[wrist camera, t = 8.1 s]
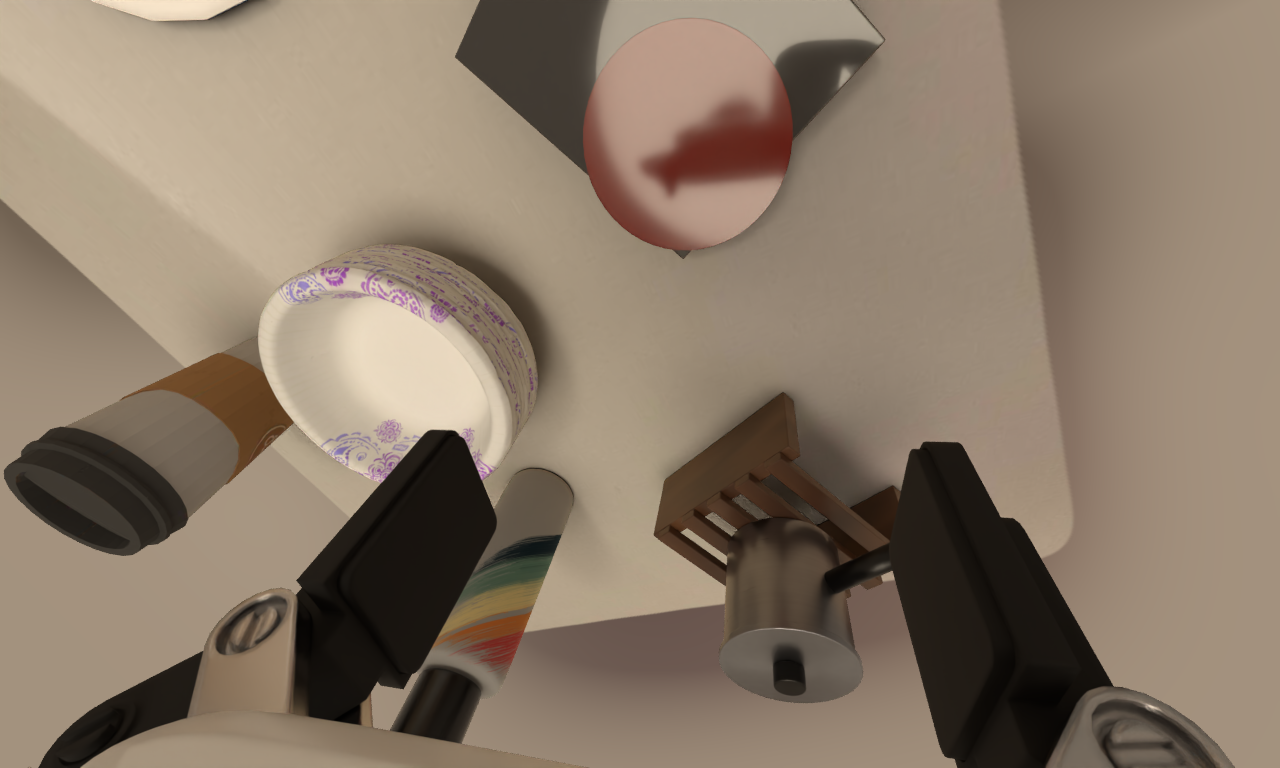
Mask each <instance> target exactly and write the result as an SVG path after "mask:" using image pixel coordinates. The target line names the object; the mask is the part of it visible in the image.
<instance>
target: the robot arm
mask: <svg viewBox="0 0 1280 768" xmlns="http://www.w3.org/2000/svg"><path fill="white" fill-rule="evenodd" d="M496 527H497V517H496V514H495V512H494V509H493V507H492V504H491V502H490V499H489V497H488V495H487V492H486V490H485V487H484V485H483V482H482V480H481V477H480V475H479V472H478V470H477V467H476V465H475V463H474V460H473V458H472V455H471V453H470V450H469V448H468V445H467V443H466V441H465V439H464V438H463V437H460V436H459V434H458V433H457V432H456V431H454V430H429V431H427V432H426V433H425V434H424V435H423V436H422V437H421V438H420V439H419V440H418V442H417V443H416V444H415V445H414V446H413V447H412V448H411V450H410V451H409V452H408V453H407V454H406V455H405V456H404V458H403V459H402V460H401V461H400V462H399V463H398V465H397V466H396V467H395V468H394V469H393V470H392V471H391V473H390V474H389V475H388V476H387V477H386V478H385V479H384V481H383V482H382V483H381V484H380V485H379V486H378V487H377V489H376V490H375V491H374V492H373V493H372V494H371V495H370V497H369V498H368V499H367V500H366V501H365V502H364V503H363V505H362V506H361V507H360V508H359V509H358V510H357V512H356V513H355V514H354V515H353V516H352V517H351V518H350V520H349V521H348V522H347V523H346V524H345V525H344V527H343V528H342V529H341V530H340V531H339V532H338V533H337V535H336V536H335V537H334V538H333V539H332V540H331V541H330V543H329V544H328V545H327V546H326V547H325V548H324V549H323V551H322V552H321V553H320V554H319V555H318V556H317V557H316V559H315V560H314V561H313V562H312V563H311V564H310V565H309V567H308V568H307V569H306V570H305V571H304V572H303V574H302V575H301V576H300V577H299V578H298V579H297V580H296V581H297V582H298V583H299V584H300V586H301V587H302V588H301V590H300V591H299V592H298V593H297V594H296V595H295V594H294V593H293V592H292V591H291V590H289V589H285V588H276V589H269V590H266V591H263V592H260V593H257V594H255V595H254V596H252V597H250V598H248V599H246V600H244V601H243V602H241V603H240V604H239V605H237V606H236V607H234V608H233V609H232V610H230V611H229V612H228V613H227V614H226V615H225V616H224V617H223V618H222V619H221V620H220V621H219V622H218V623H217V625H216V626H215V627H214V629H213V630H212V631H211V633H210V635H209V637H208V639H207V641H206V644H205V646H204V651H202V652H200V653H198V654H196V655H194V656H192V657H190V658H188V659H186V660H184V661H182V662H180V663H178V664H176V665H174V666H173V667H171V668H169V669H167V670H165V671H163V672H161V673H159V674H157V675H155V676H153V677H151V678H149V679H147V680H146V681H143V682H141V683H139V684H138V685H136V686H134V687H132V688H130V689H128V690H126V691H124V692H122V693H120V694H118V695H116V696H114V697H112V698H110V699H108V700H106V701H105V702H103V703H102V704H100V705H98V706H97V707H95V708H93V709H92V710H90V711H89V712H87V713H86V714H85V715H84V716H82V717H81V718H80V719H79V720H77V721H76V722H75V723H73V724H72V725H71V726H70V727H69V728H68V729H67V730H66V731H65V732H64V733H63V734H62V735H61V736H60V737H59V738H58V739H57V740H56V742H55V743H54V744H53V745H52V747H51V748H50V749H49V751H48V752H47V753H46V755H45V756H44V758H43V760H42V762H41V764H40V766H39V768H587V767H581V766H576V765H571V764H566V763H560V762H555V761H550V760H545V759H539V758H534V757H528V756H524V755H518V754H513V753H508V752H502V751H497V750H492V749H486V748H481V747H475V746H470V745H465V744H459V743H454V742H448V741H443V740H438V739H432V738H427V737H421V736H416V735H410V734H405V733H399V732H394V731H388V730H383V729H378V728H373V720H372V704H371V691H372V690H373V688H374V686H375V685H376V683H377V681H378V683H379V684H380V685H381V686H387V687H393V688H400V689H404V687H405V686H406V684H407V682H408V680H409V678H410V677H411V675H412V674H414V673H416V672H417V671H418V670H419V669H420V668H421V666H422V665H423V663H424V661H425V659H426V658H427V656H428V654H429V652H430V650H431V648H432V647H433V645H434V643H435V641H436V639H437V637H438V636H439V634H440V632H441V630H442V628H443V626H444V625H445V623H446V621H447V619H448V617H449V615H450V614H451V612H452V610H453V608H454V606H455V604H456V603H457V601H458V599H459V597H460V595H461V593H462V591H463V590H464V588H465V586H466V584H467V582H468V580H469V579H470V577H471V575H472V573H473V571H474V569H475V568H476V566H477V564H478V562H479V560H480V558H481V557H482V555H483V553H484V551H485V549H486V547H487V546H488V544H489V542H490V540H491V538H492V536H493V535H494V533H495V530H496ZM889 556H890V562H891V566H892V570H893V574H894V577H895V581H896V585H897V589H898V592H899V596H900V600H901V603H902V607H903V611H904V615H905V619H906V622H907V626H908V630H909V633H910V637H911V641H912V645H913V648H914V652H915V655H916V660H917V663H918V667H919V671H920V674H921V678H922V682H923V686H924V689H925V693H926V697H927V701H928V704H929V708H930V712H931V715H932V719H933V723H934V727H935V731H936V734H937V738H938V742H939V745H940V748H941V750H942V752H943V754H944V756H945V757H947V758H953V759H955V761H956V765H957V768H1235V767H1234V766H1233V765H1232V763H1231V762H1230V760H1229V759H1228V758H1227V756H1226V755H1225V754H1224V752H1223V751H1222V750H1221V748H1220V747H1219V746H1218V744H1217V743H1215V741H1213V740H1212V739H1211V738H1210V737H1209V736H1208V735H1207V734H1206V733H1205V732H1204V731H1203V730H1202V729H1201V728H1200V727H1198V726H1197V725H1196V724H1195V723H1194V722H1193V721H1191V720H1190V719H1188V718H1187V717H1185V716H1184V715H1182V714H1181V713H1179V712H1178V711H1177V710H1175V709H1174V708H1172V707H1171V706H1169V705H1167V704H1165V703H1163V702H1161V701H1159V700H1157V699H1155V698H1153V697H1151V696H1149V695H1147V694H1144V693H1141V692H1137V691H1134V690H1130V689H1127V688H1123V687H1114V686H1113V685H1112V683H1111V681H1110V679H1109V677H1108V676H1107V674H1106V672H1105V671H1104V669H1103V667H1102V665H1101V663H1100V662H1099V660H1098V658H1097V656H1096V655H1095V653H1094V651H1093V649H1092V648H1091V646H1090V644H1089V642H1088V640H1087V639H1086V637H1085V635H1084V634H1083V632H1082V630H1081V628H1080V626H1079V625H1078V623H1077V621H1076V620H1075V618H1074V616H1073V614H1072V612H1071V611H1070V609H1069V607H1068V605H1067V604H1066V602H1065V600H1064V598H1063V597H1062V595H1061V593H1060V591H1059V590H1058V588H1057V586H1056V584H1055V582H1054V581H1053V579H1052V577H1051V575H1050V574H1049V572H1048V570H1047V568H1046V567H1045V565H1044V563H1043V562H1042V560H1041V558H1040V556H1039V554H1038V553H1037V551H1036V549H1035V547H1034V546H1033V544H1032V542H1031V540H1030V539H1029V537H1028V535H1027V533H1026V531H1025V530H1024V529H1023V527H1022V526H1021V524H1020V523H1019V522H1017V521H1016V520H1015V519H1013V518H1001V517H1000V515H999V513H998V511H997V509H996V507H995V506H994V504H993V502H992V500H991V498H990V496H989V494H988V492H987V490H986V489H985V487H984V485H983V483H982V481H981V479H980V477H979V475H978V474H977V472H976V470H975V468H974V466H973V464H972V462H971V460H970V459H969V457H968V455H967V453H966V451H965V449H964V448H963V446H962V445H961V444H960V443H958V442H923V444H922V445H921V448H920V449H912V450H911V451H910V454H909V458H908V462H907V467H906V471H905V476H904V480H903V485H902V489H901V494H900V498H899V503H898V507H897V512H896V516H895V521H894V525H893V530H892V534H891V539H890V544H889ZM29 768H31V767H29Z"/></svg>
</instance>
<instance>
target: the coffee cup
mask: <svg viewBox="0 0 1280 768" xmlns="http://www.w3.org/2000/svg"><path fill="white" fill-rule="evenodd" d="M293 423H294V421H293V420H292V419H291V418H290V416H289V415H288V414H287V413H286V411H285V410H284V408H283V407H282V406H281V404H280V403H279V401H278V399H277V398H276V396H275V394H274V392H273V390H272V388H271V386H270V384H269V382H268V380H267V378H266V375H265V372H264V369H263V366H262V362H261V358H260V353H259V347H258V338H253V339H250V340H247V341H245V342H243V343H241V344H239V345H237V346H235V347H232V348H230V349H228V350H226V351H224V352H222V353H217V354H215V355H213V356H210V357H208V358H206V359H204V360H202V361H200V362H198V363H195V364H193V365H191V366H189V367H187V368H185V369H183V370H181V371H178V372H176V373H174V374H172V375H170V376H168V377H166V378H163V379H161V380H159V381H157V382H155V383H153V384H151V385H149V386H147V387H145V388H142V389H140V390H138V391H136V392H134V393H132V394H129V395H127V396H125V397H123V398H122V399H121V400H120V401H119V402H116V403H114V404H112V405H110V406H108V407H106V408H104V409H101V410H99V411H97V412H95V413H93V414H91V415H89V416H87V417H85V418H82V419H80V420H78V421H76V422H74V423H72V424H70V425H68V426H66V427H58V428H54V429H50V430H49V431H48V432H47V433H46V434H45V435H43V436H42V437H41V438H40V439H39V440H37V441H33V442H31V443H29V444H28V445H26V447H25V448H24V449H23V450H22V451H21V457H20V458H18V459H17V460H15V461H14V462H12V463H11V464H9V465H8V466H7V467H6V468H5V470H4V479H5V480H6V483H7V485H8V487H9V488H10V490H11V491H12V492H13V493H14V495H15V496H16V497H17V498H18V500H20V502H22V503H23V504H24V505H25V506H26V507H27V508H28V509H29V510H30V511H31V512H32V513H34V514H35V515H36V516H38V517H39V518H40V519H41V520H43V521H44V522H45V523H47V524H48V525H50V526H51V527H53V528H55V529H56V530H58V531H59V532H61V533H62V534H64V535H66V536H68V537H70V538H72V539H74V540H76V541H77V542H79V543H82V544H84V545H86V546H89V547H91V548H93V549H96V550H99V551H102V552H106V553H109V554H115V555H121V556H126V555H133V554H135V553H137V552H138V551H140V550H141V549H143V548H144V547H146V546H147V545H154V544H159V543H160V542H162V541H164V540H165V539H167V538H168V537H169V536H170V534H172V533H173V532H175V531H177V530H179V529H181V528H183V527H184V526H185V525H186V523H187V520H188V518H189V517H190V516H191V515H192V514H193V513H195V512H196V511H197V510H198V509H199V508H200V507H201V506H202V505H203V504H204V503H205V502H206V501H208V500H209V499H210V498H211V497H212V496H213V495H214V494H215V493H216V492H217V491H218V490H219V489H220V488H222V487H223V486H224V485H225V484H228V483H229V482H230V481H231V480H232V479H233V478H235V477H236V475H238V474H239V473H240V472H241V471H242V470H243V469H244V468H245V467H246V466H248V465H249V464H250V463H251V462H252V461H253V460H254V459H255V458H256V457H257V456H258V455H259V454H260V453H261V452H263V451H264V450H265V449H266V448H267V447H268V446H269V445H270V444H271V443H272V442H273V441H274V440H275V439H277V438H278V437H279V436H280V435H281V434H282V433H283V432H284V431H285V430H286V429H287V428H288V427H289V426H291V425H292V424H293Z"/></svg>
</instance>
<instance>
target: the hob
mask: <svg viewBox="0 0 1280 768" xmlns="http://www.w3.org/2000/svg"><path fill="white" fill-rule="evenodd" d="M681 18H700V19H709V20H712V21H716V22H720V23H723V24H725V25H728V26H730V27H732V28H734V29H736V30H738V31H740V32H741V33H743V34H744V35H746V36H747V37H749V38H750V39H751V40H752V41H753V42H754V43H756V44H757V45H758V46H759V47H760V48H761V49H762V50H763V51H764V53H765V54H766V55H767V56H768V58H769V59H770V60H771V61H772V63H773V64H774V66H775V68H776V70H777V71H778V73H779V75H780V77H781V79H782V81H783V84H784V86H785V89H786V91H787V95H788V99H789V103H790V107H791V114H792V122H793V139H792V141H793V140H794V139H795V138H796V137H797V136H798V135H799V133H800V132H801V131H802V130H803V129H804V128H805V127H806V126H807V125H808V124H809V123H810V122H811V120H812V119H813V118H814V117H815V116H816V115H817V114H818V113H819V112H820V111H821V110H822V109H823V108H824V106H825V105H826V104H827V103H828V102H829V101H830V100H831V99H832V98H833V97H834V96H835V95H836V93H837V92H838V91H839V90H840V89H841V88H842V87H843V86H844V85H845V84H846V83H847V82H848V80H849V79H850V78H851V77H852V76H853V75H854V74H855V73H856V72H857V71H858V70H859V69H860V67H861V66H862V65H863V64H864V63H865V62H866V61H867V60H868V59H869V58H870V57H871V56H872V54H873V53H874V52H875V51H876V50H877V49H878V48H879V47H880V46H881V45H882V44H883V43H884V42H885V38H884V37H883V36H882V35H881V33H880V32H879V31H878V30H877V29H876V28H875V26H874V25H873V24H872V23H871V22H870V21H869V19H868V18H867V17H866V16H865V15H864V14H863V12H862V11H861V10H860V9H859V8H858V6H857V5H856V4H855V3H854V2H853V1H852V0H480V1H479V4H478V6H477V8H476V10H475V13H474V15H473V17H472V19H471V22H470V24H469V26H468V28H467V31H466V33H465V35H464V37H463V40H462V42H461V44H460V46H459V49H458V51H457V53H456V55H455V58H456V59H457V60H459V61H460V62H461V63H462V64H463V65H464V66H465V67H467V68H468V69H469V70H470V71H471V72H472V73H473V74H474V75H476V76H477V77H478V78H479V79H480V80H481V81H482V82H483V83H485V84H486V85H487V86H488V87H489V88H490V89H491V90H493V91H494V92H495V93H496V94H497V95H498V96H499V97H500V98H502V99H503V100H504V101H505V102H506V103H507V104H508V105H509V106H511V107H512V108H513V109H514V110H515V111H516V112H517V113H519V114H520V115H521V116H522V117H523V118H524V119H525V120H526V121H528V122H529V123H530V124H531V125H532V126H533V127H534V128H535V129H537V130H538V131H539V132H540V133H541V134H542V135H543V136H545V137H546V138H547V139H548V140H549V141H550V142H551V143H552V144H554V145H555V146H556V147H557V148H558V149H559V150H560V151H561V152H563V153H564V154H565V155H566V156H567V157H568V158H569V159H571V160H572V161H573V162H574V163H575V164H576V165H577V166H578V167H580V168H581V169H582V170H583V171H584V172H585V173H586V174H587V175H589V174H588V171H587V166H586V162H585V157H584V147H583V126H584V119H585V112H586V108H587V104H588V100H589V97H590V94H591V92H592V89H593V87H594V84H595V82H596V80H597V78H598V77H599V75H600V73H601V71H602V69H603V68H604V66H605V65H606V64H607V62H608V61H609V60H610V58H611V57H612V56H613V55H614V54H615V53H616V52H617V50H618V49H619V48H620V47H621V46H622V45H623V44H625V43H626V42H627V41H628V40H630V39H631V38H632V37H633V36H635V35H637V34H638V33H640V32H642V31H643V30H645V29H647V28H649V27H651V26H654V25H656V24H659V23H661V22H665V21H669V20H674V19H681ZM673 251H675V252H676V253H677V254H678V255H679V256H680V257H681V258H683V259H684V258H685V257H686V256H687V255H688V254H689V252H690V251H691V250H673Z"/></svg>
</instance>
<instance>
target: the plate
mask: <svg viewBox="0 0 1280 768" xmlns="http://www.w3.org/2000/svg"><path fill="white" fill-rule="evenodd" d="M91 1H93V2H95V3H98V4H101V5H105V6H108V7H111V8H114V9H117V10H120V11H123V12H127V13H130V14H133V15H136V16H139V17H142V18H146V19H149V20H152V21H174V20H209V19H212V18H214V17H216V16H218V15H220V14H222V13H224V12H226V11H228V10H230V9H232V8H234V7H236V6H238V5H240V4H242V3H244V2H246V1H248V0H91Z"/></svg>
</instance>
